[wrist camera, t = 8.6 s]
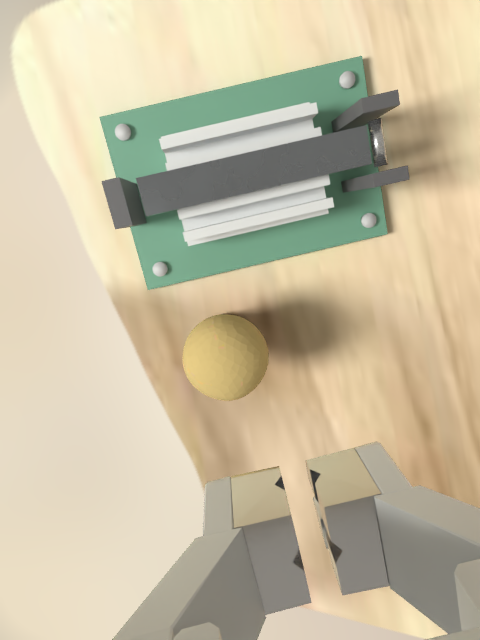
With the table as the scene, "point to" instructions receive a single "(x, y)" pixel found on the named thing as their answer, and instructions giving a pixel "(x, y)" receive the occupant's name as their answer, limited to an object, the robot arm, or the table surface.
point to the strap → (262, 169)
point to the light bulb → (225, 357)
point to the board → (226, 110)
